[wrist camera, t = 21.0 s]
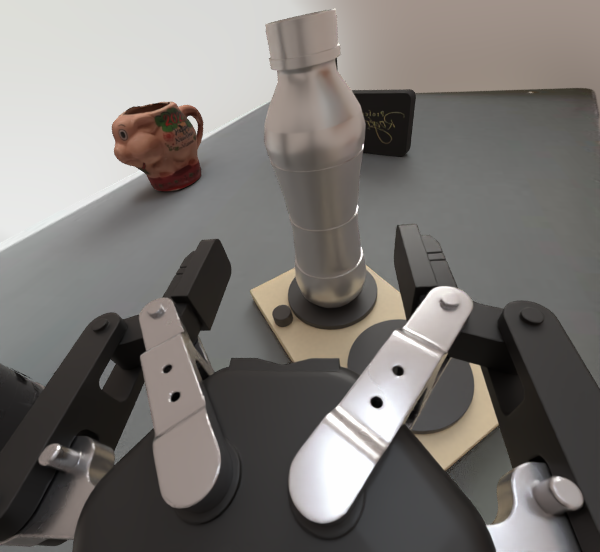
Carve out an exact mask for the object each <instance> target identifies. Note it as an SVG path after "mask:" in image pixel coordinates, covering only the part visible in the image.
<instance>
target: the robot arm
mask: <svg viewBox="0 0 600 552" xmlns="http://www.w3.org/2000/svg"><path fill="white" fill-rule="evenodd" d="M394 265H395V270H396V275H397V280H398V284H399V289H400V293H401V298H402V302H403V307H404V312H405V316H406V321H407V323H406V324H405V326H404V327H403V328H402V329H400V328H397V329H396V330H395V331H394V332H393V333H392V334H391V336H390V337H389V338H388V340H387V341H386V342H385V344H384V345H383V346H382V347H381V349H380V350H379V351H378V353H377V354H376V355H375V357H374V358H373V359H372V361H371V362H370V363H369V365H368V366H367V367H366V369H365V370H364V371H363V373H362V374H361V375H360V374H358V373H356V372H354V371H353V370H350V369H348V368H345V367H341V366H340V360H339V358H310V359H306V360H302V361H298V362H294V363H289V364H285V365H280V364H276V363H273V362H269V361H265V360H262V359H258V358H231V362H230V365H229V367H226V368H223V369H221V370H219V371H217V372H214V370H213V368H212V366H211V363H210V361H209V359H208V356H207V354H206V352H205V349H204V347H203V344H202V342H201V340H200V338H199V337H198V335H199V332H200V331H205V330H211V327H212V324H213V322H214V319H215V316H216V314H217V311H218V308H219V306H220V303H221V300H222V298H223V295H224V292H225V290H226V287H227V284H228V282H229V279H230V276H231V264H230V261H229V259H228V257H227V255H226V252H225V250H224V248H223V246H222V244H221V242H220V240H219V239H210V240H202V241H201V242H200V243H199V245H198V247H197V249H196V250H195V251H193V252H191V253H190V254H189V255H188V256H187V257H186V258H185V259H184V261H183V263H182V264H181V266H180V269H179V270H178V271H177V273H176V275H175V277H174V278H173V280H172V282H171V284H170V285H169V287H168V289H167V290H166V292H165V294H164V296H163V297H162V298H159V299H156V300H153V301H152V302H150V303H148V304H147V305H146V306H145V307H144V308H143V309H142V311H141V312H140V315H136V316H133V317H130V318H126V319H122V318H121V317H120V316H119V315H118V314H116V313H106V314H103V315H101V316H99V317H97V318H96V319H94V320H93V321H92V322H91V323H90V324H89V325H88V326H87V327H86V328H85V330H84V331H83V333H82V334H81V336H80V337H79V339H78V340H77V342H76V343H75V344H74V346H73V347H72V349H71V350H70V352H69V353H68V355H67V356H66V358H65V359H64V360H63V362H62V363H61V365H60V366H59V368H58V369H57V371H56V372H55V373H54V375H53V376H52V378H51V379H50V381H49V382H48V384H47V385H46V387H45V386H43V385H41V384H39V383H37V382H33V381H31V380H29V379H27V378H25V377H24V376H26V375H24V374H22V373H20V372H18V373H20V374H22V375H24V376H22V375H20V374H18V373H16V372H17V371H16V372H15V370H14V371H13V369H12V370H11V368H10V369H9V368H8V367H6V366H4V365H2V364H0V545H6V546H27V547H31V546H35V545H44V546H57V545H60V544H62V543H64V542H65V541H67V540H74V542H73V551H72V552H600V389H599V387H598V385H597V384H596V382H595V380H594V379H593V377H592V375H591V374H590V372H589V370H588V369H587V367H586V365H585V364H584V362H583V360H582V359H581V357H580V355H579V354H578V352H577V350H576V349H575V347H574V345H573V344H572V342H571V340H570V339H569V337H568V335H567V334H566V332H565V330H564V329H563V327H562V325H561V324H560V322H559V320H558V319H557V317H556V316H555V315H554V314H553V313H552V312H551V311H550V310H549V309H547V308H545V307H544V306H542V305H539V304H537V303H534V302H530V301H522V300H521V301H513V302H510V303H509V304H507V305H506V306H505V308H504V309H502V308H497V307H492V306H487V305H483V304H479V303H476V302H474V301H472V299H471V298H470V297H469V295H468V294H466V293H465V292H464V291H462V290H460V289H458V287H457V285H456V282H455V280H454V278H453V275H452V273H451V270H450V268H449V266H448V263H447V261H446V258H445V256H444V254H443V251H442V249H441V246H440V244H439V242H438V241H437V240H435V239H434V238H433V237H432V236H431V235H420V232H419V229H418V226H417V224H406V225H397V228H396V238H395V249H394ZM451 358H455V359H458V360H462V361H466V362H469V363H473V364H476V365H480V367H481V370H482V373H483V377H484V380H485V383H486V386H487V389H488V392H489V395H490V399H491V402H492V405H493V408H494V411H495V414H496V417H497V421H498V424H499V427H500V430H501V433H502V436H503V439H504V443H505V446H506V449H507V452H508V455H509V458H510V461H511V465H512V468H513V470H511V471H509V472H508V473H506V474H505V475H503V476H502V477H501V478H500V480H499V482H498V485H497V498H498V513H497V516H496V518H495V520H494V521H493V523H492V524H490V525H488V524H485V522H484V520H483V519H482V517H481V515H480V514H479V512H478V511H477V509H476V508H475V506H474V505H473V504H472V502H471V501H470V500H469V499H468V498H467V496H466V495H465V494H464V493H463V492H462V490H461V489H460V488H459V487H458V486H457V485H456V483H455V482H454V481H453V480H452V479H451V477H450V476H449V475H448V474H447V473H446V471H445V470H444V469H443V468H442V467H441V466H440V464H439V463H438V462H437V461H436V460H435V458H434V457H433V456H432V455H431V454H430V453H429V451H428V450H427V449H426V448H425V447H424V445H423V444H422V443H421V442H420V441H419V440H418V438H417V437H416V436H415V435H414V434H413V432H412V431H411V429H412V427H413V426H414V424H415V422H416V420H417V419H418V417H419V415H420V413H421V412H422V410H423V408H424V406H425V404H426V402H427V400H428V398H429V396H430V394H431V392H432V391H433V389H434V387H435V385H436V384H437V382H438V380H439V378H440V377H441V375H442V373H443V372H444V370H445V368H446V366H447V365H448V363H449V361H450V359H451ZM110 359H111V360H112V361H113V362H114V363H116V365H115V367H114V368H113V370H112V372H111V374H110V376H109V378H108V380H107V381H106V383H105V385H104V387H103V389H102V390H101V389H100V387H99V379H100V377H101V375H102V373H103V371H104V369H105V368H106V366H107V364H108V362H109V361H110ZM26 377H27V376H26ZM28 378H29V377H28ZM144 382H145V386H146V391H147V396H148V401H149V406H150V411H151V416H152V421H153V426H154V428H153V429H152V430H151V431H150V432H149V433H148V434H147V435H146V436H145V437H144V438H143V439H142V440H141V441H140V442H139V443H138V444H136V445H135V446H134V447H133V448H132V449H131V450H130V451H129V452H128V453H127V454H126V455H125V456H124V457H123V458H122V459H121V460H120V461H119V462H118V463H117V464H116V465H114V461H115V454H114V450H115V448H116V446H117V444H118V441H119V439H120V437H121V434H122V432H123V430H124V428H125V425H126V423H127V421H128V418H129V416H130V414H131V412H132V409H133V407H134V405H135V402H136V400H137V398H138V396H139V393H140V391H141V389H142V386H143V384H144Z"/></svg>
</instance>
